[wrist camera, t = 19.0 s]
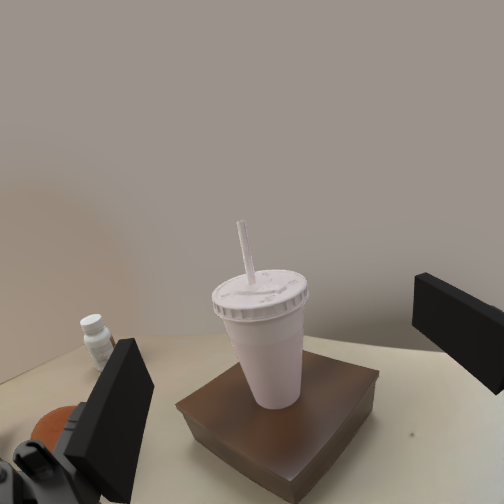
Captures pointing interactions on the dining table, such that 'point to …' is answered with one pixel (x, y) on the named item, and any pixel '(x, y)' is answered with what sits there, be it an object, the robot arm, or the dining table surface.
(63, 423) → the burger
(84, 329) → the pill bottle
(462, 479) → the dining table surface
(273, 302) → the smoothie
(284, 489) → the walnut box
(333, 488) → the dining table surface
